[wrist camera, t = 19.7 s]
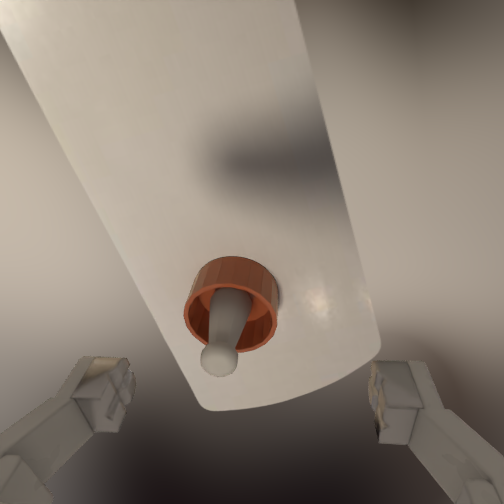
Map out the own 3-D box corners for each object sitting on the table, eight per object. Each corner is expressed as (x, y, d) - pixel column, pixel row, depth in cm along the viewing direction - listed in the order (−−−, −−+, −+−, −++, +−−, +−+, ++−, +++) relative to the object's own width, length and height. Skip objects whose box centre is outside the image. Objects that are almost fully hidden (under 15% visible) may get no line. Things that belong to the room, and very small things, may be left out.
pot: (275, 255, 46) (274, 282, 41) (279, 322, 53) (279, 353, 48) (187, 257, 48) (175, 284, 43) (202, 322, 54) (193, 352, 49)
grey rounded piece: (213, 275, 48) (191, 347, 37) (254, 279, 48) (244, 353, 37) (213, 306, 51) (192, 381, 41) (251, 311, 51) (241, 387, 40)
